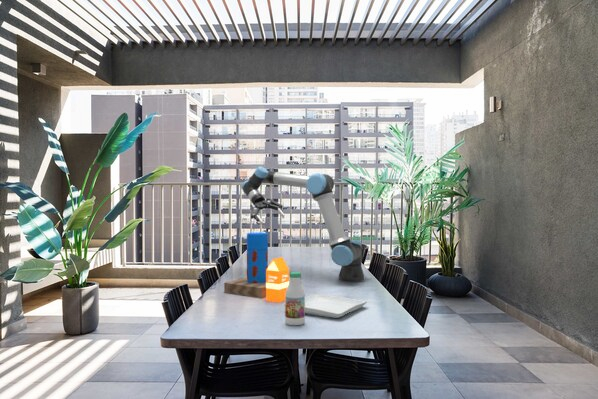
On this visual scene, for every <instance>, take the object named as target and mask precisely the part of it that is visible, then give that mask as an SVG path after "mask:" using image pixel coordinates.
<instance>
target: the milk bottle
mask: <svg viewBox="0 0 598 399" xmlns="http://www.w3.org/2000/svg"><path fill="white" fill-rule="evenodd" d="M301 279H302V272H299V271H292V272H290V271H289V285H288V287H287V290H286V297H285V301H284V303H285V304H284V306H285V308H284V310H285V312H284V314H285V315H284V316H285V317H284V320H285V324H286V325H288V326H301V325H303V324H305V323H306V314H305V297H306V296H305V289H304V287H303V284H302V280H301Z"/></svg>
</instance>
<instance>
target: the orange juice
mask: <svg viewBox="0 0 598 399" xmlns="http://www.w3.org/2000/svg"><path fill="white" fill-rule="evenodd" d="M289 273H290V268H289V267H288V265H287V263H286V262H285V260H284V257H283V256H280V257H277V258H273V259H272V260H271V261H270V263H269V264H268V268H267V269H266V297H265V301H266V302H273V303H282V302H285V297H286V290H287V287H288V285H289V282H290V278H289Z"/></svg>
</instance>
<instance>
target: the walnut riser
mask: <svg viewBox="0 0 598 399" xmlns="http://www.w3.org/2000/svg"><path fill="white" fill-rule="evenodd" d="M223 285H224V286H223V287H224V289H223V290H224V291H223V292H224V293H225V294H232V295H238V296H243V297H244V296H245V297H251V298H257V299H264V298H265V299H266V282H265V283H249V282H247V276H246V277H243V278H238V279H235V280H231V281H227V282H224V284H223Z"/></svg>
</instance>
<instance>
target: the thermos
mask: <svg viewBox="0 0 598 399" xmlns="http://www.w3.org/2000/svg"><path fill="white" fill-rule="evenodd" d="M268 238H269V236H268V233H267V232H248V233H246V277H247V282H249V283H265V282H266V269H267V268H268V266H269V264H268V263H269V262H268V261H269V256H268V254H269V249H268V247H269V244H268V242H269V240H268Z"/></svg>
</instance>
